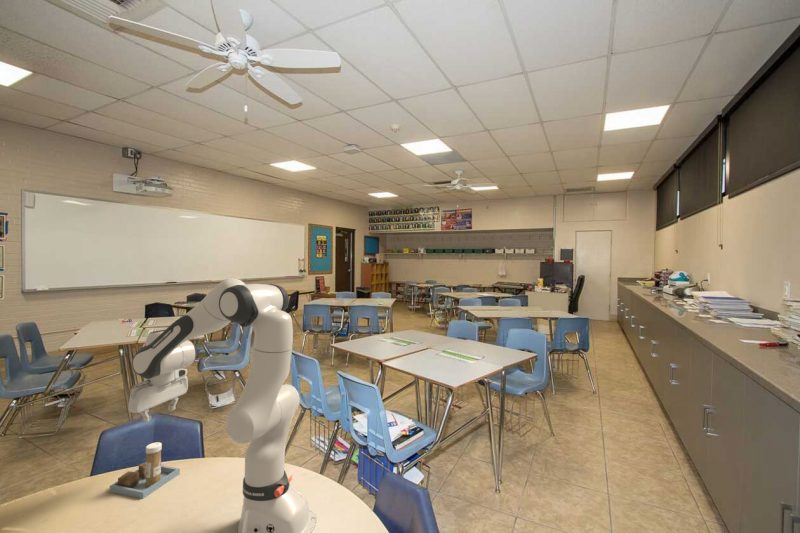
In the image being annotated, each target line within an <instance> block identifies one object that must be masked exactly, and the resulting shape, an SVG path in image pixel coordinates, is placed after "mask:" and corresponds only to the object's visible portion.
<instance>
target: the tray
mask: <svg viewBox="0 0 800 533" xmlns="http://www.w3.org/2000/svg"><path fill="white" fill-rule="evenodd" d="M134 472H139V468H138V469H136V470H134ZM180 473H181V468H178V467H172V466H166V465H162V464H161V480H159V481H158V482H156V483H155V484H153V485H152V486H150V487H146V486H145V484H146V479H145V480H144V479H142V478H141V477H139V484H137V485H136V486H135V487H133V488H128V487H123V486H118V480H117V481H115V482H114V483H112V484H111V485H109V492H110V493H115V494H120V495H124V496H128V497H132V498H137V499H145V498H147V497H149V495H151V494H152V493H153V492H155V491H157V490H158V489H160V488H161V487H163V486H164V485H166V484H167V483H169V482H170V481H172V480H173V479H175V478H176V477H177V476H180V475H181V474H180Z"/></svg>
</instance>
